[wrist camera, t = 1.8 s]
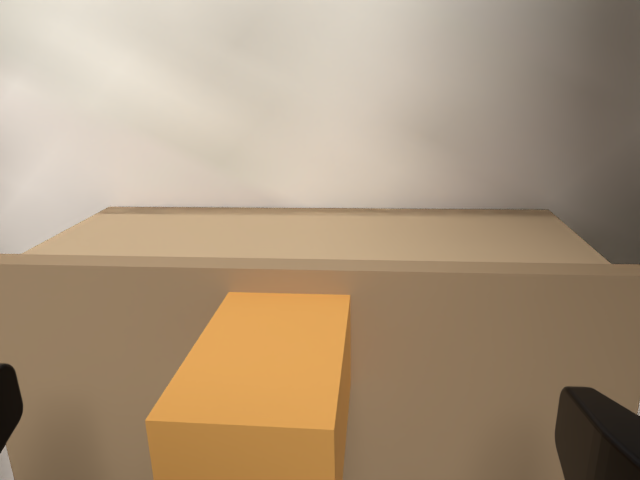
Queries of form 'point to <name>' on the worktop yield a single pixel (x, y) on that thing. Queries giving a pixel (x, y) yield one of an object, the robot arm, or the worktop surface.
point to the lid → (307, 365)
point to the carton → (326, 234)
